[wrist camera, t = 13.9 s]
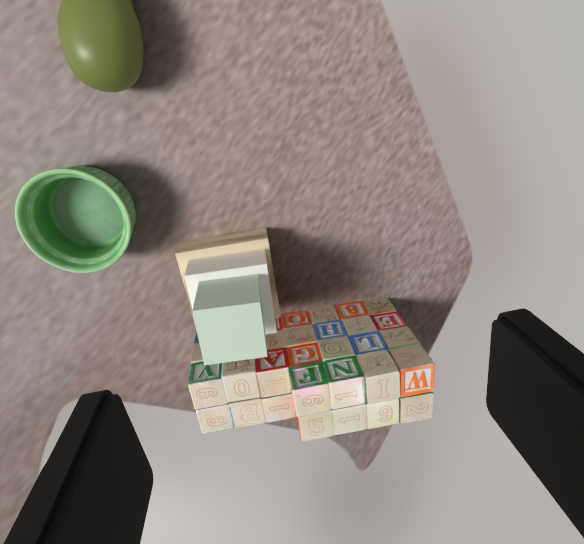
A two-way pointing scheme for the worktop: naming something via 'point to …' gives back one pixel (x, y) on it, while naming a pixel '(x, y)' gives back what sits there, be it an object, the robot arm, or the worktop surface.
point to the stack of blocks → (321, 374)
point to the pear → (102, 42)
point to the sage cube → (230, 319)
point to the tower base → (227, 246)
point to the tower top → (231, 268)
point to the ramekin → (76, 218)
